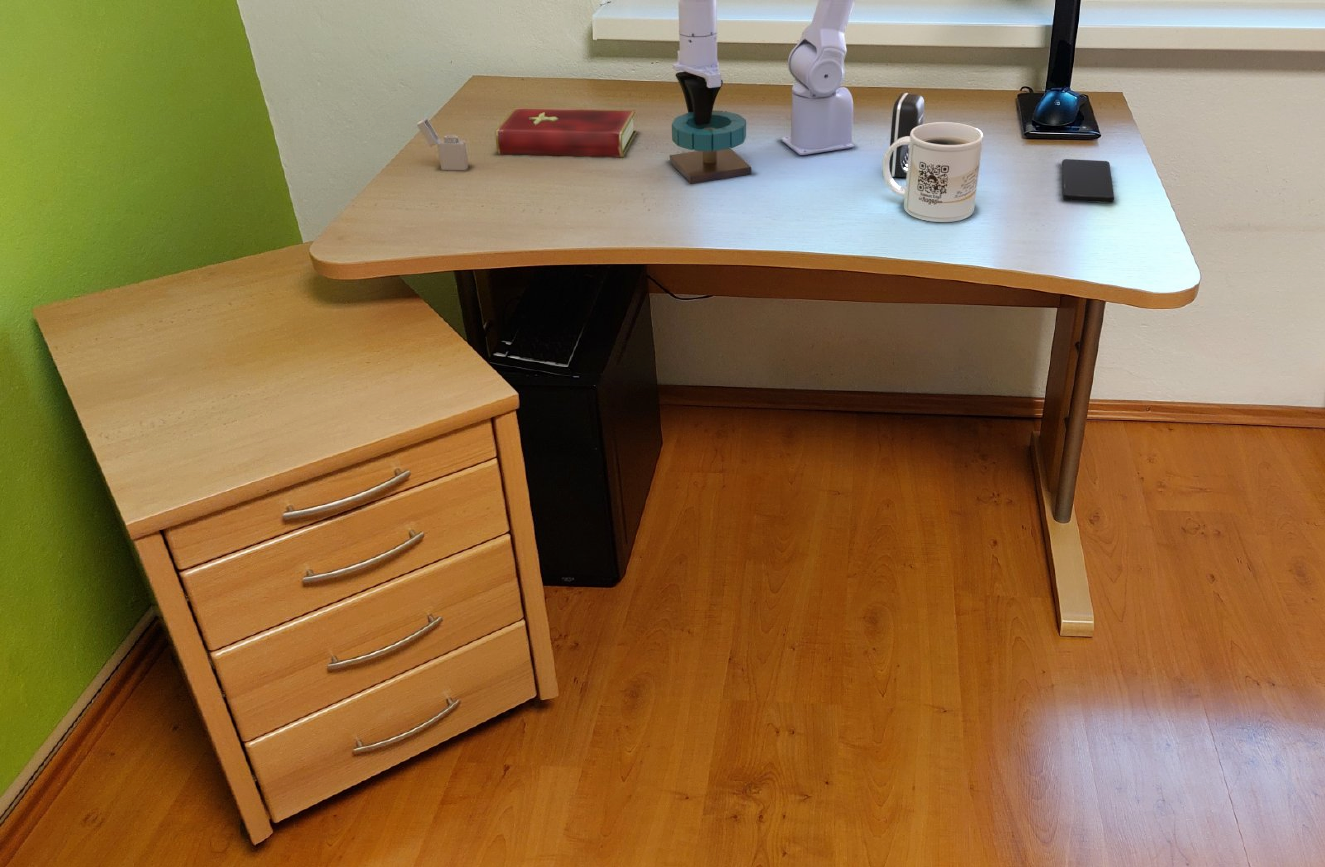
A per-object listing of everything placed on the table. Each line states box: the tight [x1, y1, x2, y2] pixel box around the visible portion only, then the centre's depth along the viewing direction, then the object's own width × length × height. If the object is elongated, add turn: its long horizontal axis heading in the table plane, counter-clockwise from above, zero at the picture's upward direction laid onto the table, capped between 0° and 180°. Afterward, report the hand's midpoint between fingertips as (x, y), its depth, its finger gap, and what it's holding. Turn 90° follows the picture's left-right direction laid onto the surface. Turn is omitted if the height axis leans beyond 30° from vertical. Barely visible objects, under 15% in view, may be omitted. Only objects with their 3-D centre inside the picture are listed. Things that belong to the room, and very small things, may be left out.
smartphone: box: [1061, 158, 1115, 203], centre depth 167 cm, size 7×1×15 cm
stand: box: [669, 127, 752, 185], centre depth 177 cm, size 10×10×6 cm
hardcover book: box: [494, 107, 637, 158], centre depth 189 cm, size 12×21×4 cm, turn 80°
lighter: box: [416, 117, 469, 171], centre depth 180 cm, size 7×2×8 cm, turn 81°
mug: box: [881, 121, 984, 223], centre depth 160 cm, size 10×12×11 cm
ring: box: [671, 109, 747, 152], centre depth 175 cm, size 11×11×3 cm
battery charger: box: [889, 92, 925, 178], centre depth 171 cm, size 7×4×11 cm, turn 159°
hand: (699, 121), depth 178 cm, fingers closed on ring, 2 cm apart
